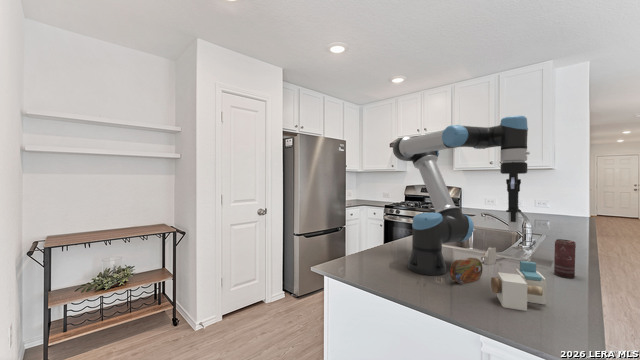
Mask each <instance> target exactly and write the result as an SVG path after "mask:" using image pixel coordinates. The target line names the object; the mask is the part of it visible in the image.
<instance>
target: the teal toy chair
mask: <svg viewBox="0 0 640 360" xmlns="http://www.w3.org/2000/svg"><path fill="white" fill-rule="evenodd" d="M518 270H519V271H520V272H521V273H522V274H523V275H524V276H525V279H529V280H538V281H542V278H541V277H540V276H539V275H538V274H537V273H536V271H537V263H536V262H535V261H534V262H533V261H527V260H526V261H523V260H519V269H518Z"/></svg>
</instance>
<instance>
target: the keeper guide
mask: <svg viewBox="0 0 640 360" xmlns="http://www.w3.org/2000/svg"><path fill="white" fill-rule="evenodd" d="M519 270H520V269H518V268H516V269H515V272H514V274H517V275H520V276H521V277H522V278H523V279H524V281H525V282H526V283H527V285H531V286H539V287H541V288H542V291H543V295H542V296H538V295H531V294H527V303H532V304H539V305H547V278H545V277H544V276H543V274H541V273H540V272H539V271H537V270H536V273H537V274H538V275H539V276H540V277H541V278H542V281H538V280H529V279H525V276H524V275H523V274H522V273H521V272H520V271H519Z"/></svg>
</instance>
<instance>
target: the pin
mask: <svg viewBox="0 0 640 360" xmlns="http://www.w3.org/2000/svg"><path fill="white" fill-rule="evenodd" d="M490 279H491V280H490V288H491V292H492V293H493V294H497V293H499V291H500V290H502V282H500V281H499V279H498V278H497V277H493V276H492V277H491V278H490ZM527 294H531V295H538V296H542V295H543V291H542V288H541V287H539V286H531V285H527Z"/></svg>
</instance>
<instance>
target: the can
mask: <svg viewBox="0 0 640 360" xmlns="http://www.w3.org/2000/svg"><path fill="white" fill-rule="evenodd" d="M576 244H577V243H576V241H574V240H568V239H562V238H559V239H555V241H554V260H553V263H554V266H553V273H554V275H555V276H558V277H560V278H566V279H573V278H574V277H575V276H576V272H575V271H576V246H577V245H576Z"/></svg>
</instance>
